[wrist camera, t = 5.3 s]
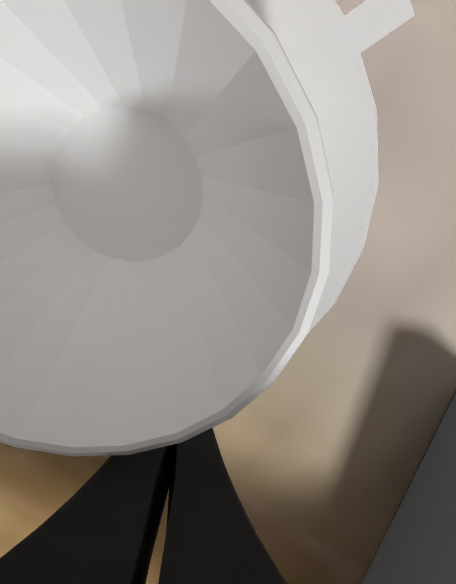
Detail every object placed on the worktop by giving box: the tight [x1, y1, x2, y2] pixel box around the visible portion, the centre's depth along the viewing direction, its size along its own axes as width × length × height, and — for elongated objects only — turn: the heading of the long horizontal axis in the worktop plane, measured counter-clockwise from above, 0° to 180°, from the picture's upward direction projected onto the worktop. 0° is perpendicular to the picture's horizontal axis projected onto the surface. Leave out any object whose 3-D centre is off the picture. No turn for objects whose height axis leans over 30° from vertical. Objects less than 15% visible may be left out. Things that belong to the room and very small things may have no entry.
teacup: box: [0, 0, 415, 457], centre depth 8 cm, size 12×12×5 cm
